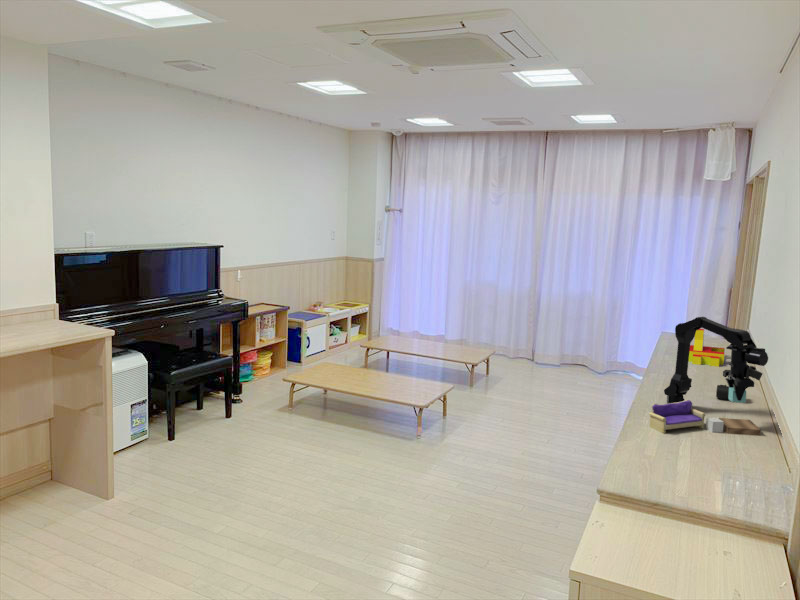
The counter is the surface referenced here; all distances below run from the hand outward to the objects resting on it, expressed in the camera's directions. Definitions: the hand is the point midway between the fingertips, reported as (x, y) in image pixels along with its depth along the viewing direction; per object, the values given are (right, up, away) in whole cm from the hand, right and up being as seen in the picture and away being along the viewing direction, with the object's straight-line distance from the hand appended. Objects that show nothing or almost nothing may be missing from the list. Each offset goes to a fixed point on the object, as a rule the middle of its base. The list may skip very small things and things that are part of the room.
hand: (737, 398), depth 251 cm
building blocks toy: (+46, +3, +117) cm, 126 cm away
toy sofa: (-24, -13, +1) cm, 28 cm away
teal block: (0, -1, 0) cm, 1 cm away
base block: (0, -13, -1) cm, 13 cm away
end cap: (+18, -7, +39) cm, 44 cm away
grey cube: (-10, -13, -2) cm, 16 cm away
